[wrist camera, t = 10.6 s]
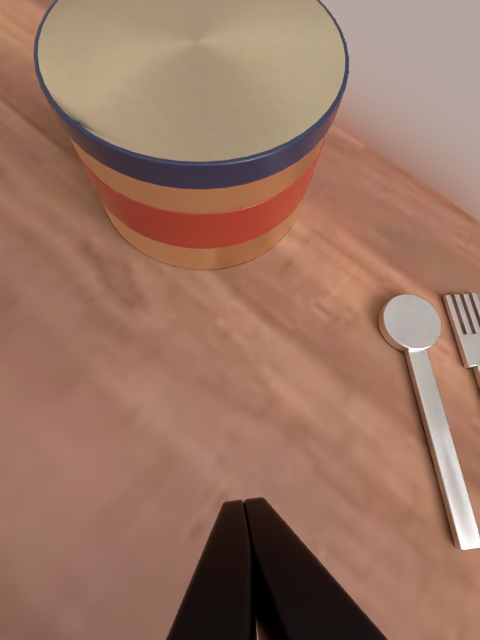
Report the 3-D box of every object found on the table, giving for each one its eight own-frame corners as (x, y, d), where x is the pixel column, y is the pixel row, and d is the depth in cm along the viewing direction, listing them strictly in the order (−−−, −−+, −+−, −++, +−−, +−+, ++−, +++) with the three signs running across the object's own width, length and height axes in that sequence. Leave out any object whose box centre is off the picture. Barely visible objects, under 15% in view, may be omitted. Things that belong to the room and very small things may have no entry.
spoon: (498, 541, 18) (510, 545, 17) (432, 550, 17) (442, 555, 17) (425, 296, 22) (432, 291, 21) (372, 300, 22) (377, 295, 21)
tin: (344, 208, 24) (413, 83, 16) (167, 312, 21) (133, 225, 12) (231, 82, 28) (237, -76, 19) (64, 154, 24) (-19, 1, 16)
